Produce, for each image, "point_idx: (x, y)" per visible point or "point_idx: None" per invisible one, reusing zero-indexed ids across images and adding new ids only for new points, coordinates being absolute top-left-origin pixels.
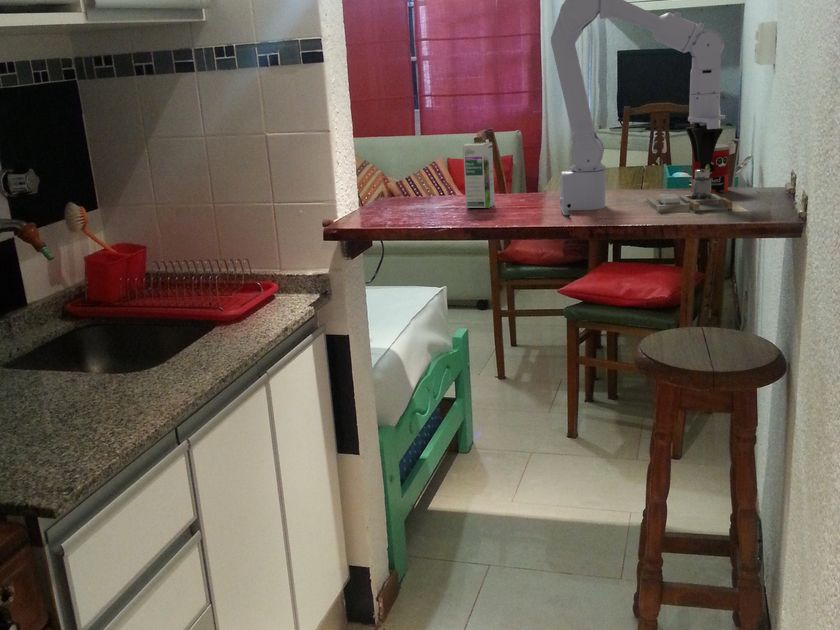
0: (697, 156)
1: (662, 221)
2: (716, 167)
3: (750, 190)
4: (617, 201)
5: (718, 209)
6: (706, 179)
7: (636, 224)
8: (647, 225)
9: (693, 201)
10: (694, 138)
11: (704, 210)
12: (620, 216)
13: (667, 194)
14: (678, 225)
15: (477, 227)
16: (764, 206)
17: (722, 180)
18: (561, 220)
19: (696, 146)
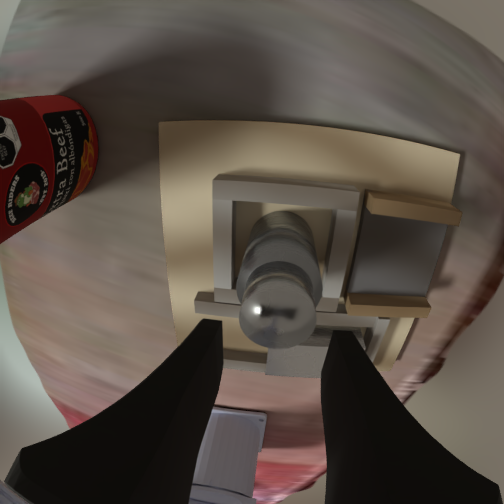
0: (217, 381)
1: (399, 356)
2: (26, 158)
3: (26, 34)
4: (117, 362)
5: (441, 245)
6: (312, 284)
7: (395, 393)
8: (415, 380)
9: (387, 312)
10: (187, 489)
11: (428, 282)
12: (301, 403)
13: (279, 360)
14: (451, 337)
15: (296, 488)
16: (304, 23)
17: (55, 120)
18: (294, 453)
19: (198, 436)
